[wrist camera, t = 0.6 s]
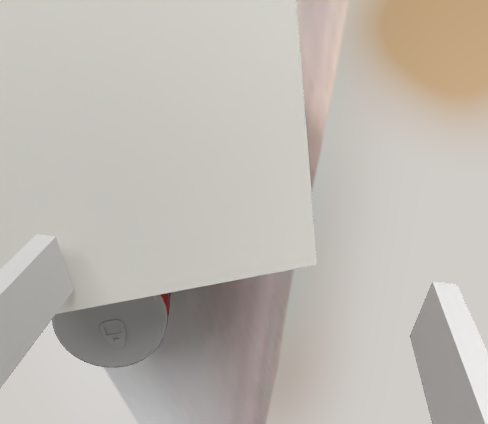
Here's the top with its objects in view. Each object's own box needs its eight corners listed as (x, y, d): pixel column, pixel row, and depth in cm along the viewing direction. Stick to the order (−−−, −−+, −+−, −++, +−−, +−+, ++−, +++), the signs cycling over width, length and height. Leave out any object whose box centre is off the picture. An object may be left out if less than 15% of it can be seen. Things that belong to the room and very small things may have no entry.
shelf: (66, 195, 33) (-83, 340, 15) (-15, -43, 26) (-443, -269, 9) (254, 163, 34) (317, 264, 16) (222, -74, 27) (269, -334, 10)
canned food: (121, 298, 37) (93, 384, 27) (75, 234, 34) (24, 303, 24) (190, 266, 37) (187, 341, 27) (149, 198, 34) (128, 253, 24)
